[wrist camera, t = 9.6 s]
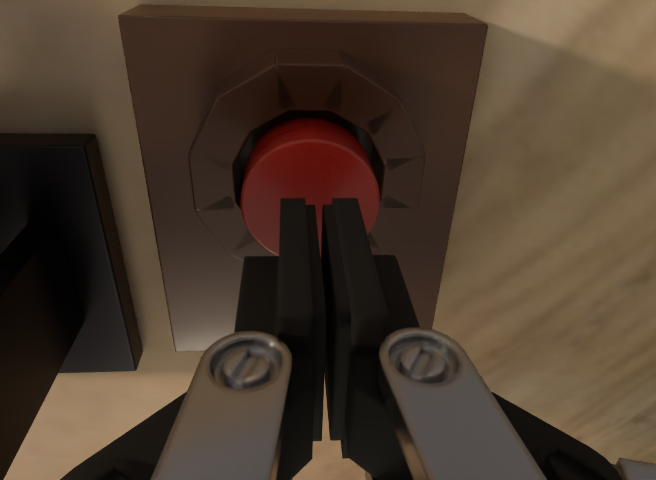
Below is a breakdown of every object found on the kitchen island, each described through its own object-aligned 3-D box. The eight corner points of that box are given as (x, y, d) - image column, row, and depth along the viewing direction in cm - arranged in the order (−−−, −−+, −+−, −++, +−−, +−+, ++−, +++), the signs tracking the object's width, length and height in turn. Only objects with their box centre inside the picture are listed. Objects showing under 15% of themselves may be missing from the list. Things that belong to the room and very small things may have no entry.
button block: (137, 4, 15) (94, 26, 12) (465, 12, 16) (514, 35, 12) (184, 315, 21) (165, 388, 18) (417, 310, 22) (441, 380, 19)
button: (241, 115, 13) (235, 139, 12) (375, 117, 14) (386, 139, 12) (248, 232, 15) (244, 265, 14) (365, 231, 15) (374, 263, 14)
